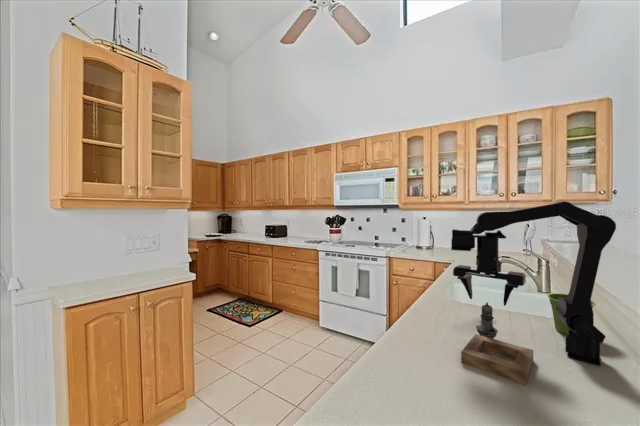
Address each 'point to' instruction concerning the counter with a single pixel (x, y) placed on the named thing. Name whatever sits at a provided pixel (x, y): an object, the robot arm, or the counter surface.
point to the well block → (495, 365)
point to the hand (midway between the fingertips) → (487, 301)
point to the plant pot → (558, 322)
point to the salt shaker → (487, 323)
